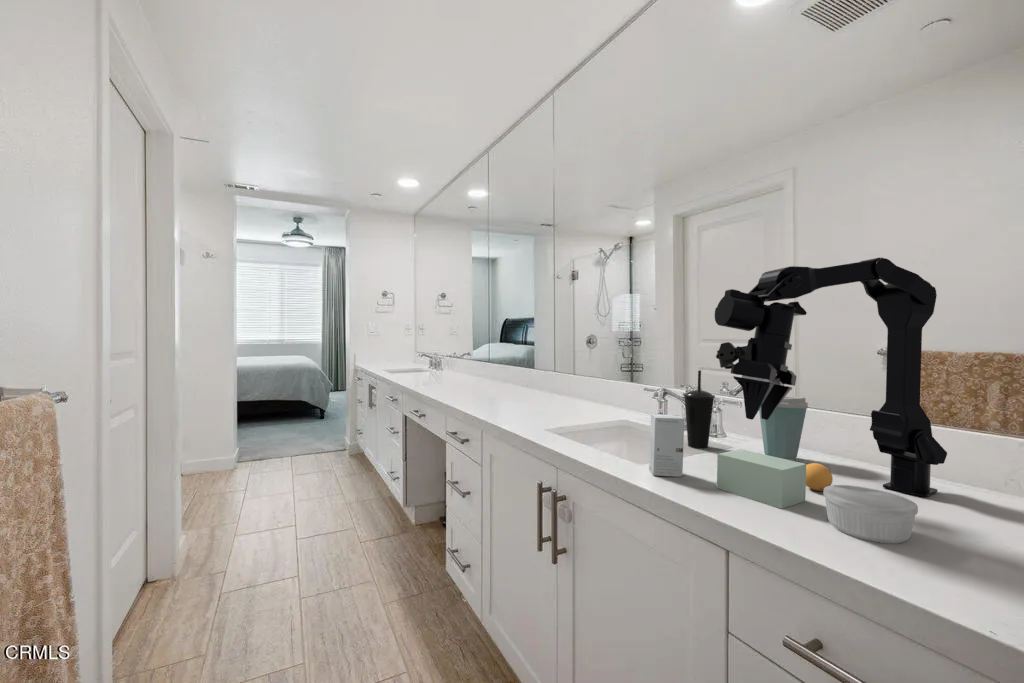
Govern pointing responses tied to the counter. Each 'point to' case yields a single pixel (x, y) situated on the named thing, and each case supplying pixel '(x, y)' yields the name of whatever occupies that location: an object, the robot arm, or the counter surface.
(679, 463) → the skincare box
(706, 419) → the drinking cup
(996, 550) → the counter surface
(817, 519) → the counter surface
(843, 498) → the ramekin
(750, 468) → the sage green rectangular block
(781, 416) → the disposable coffee cup
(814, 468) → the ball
